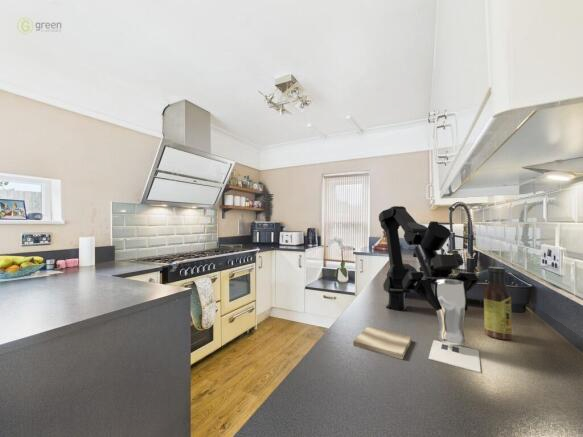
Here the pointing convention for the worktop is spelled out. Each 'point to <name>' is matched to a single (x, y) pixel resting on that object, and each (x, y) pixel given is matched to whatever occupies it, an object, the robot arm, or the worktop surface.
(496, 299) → the sauce bottle
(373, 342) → the birch board
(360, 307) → the worktop surface
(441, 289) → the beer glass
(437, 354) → the card
